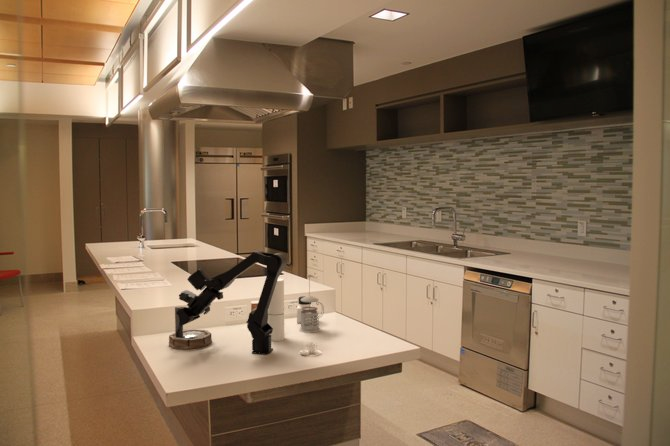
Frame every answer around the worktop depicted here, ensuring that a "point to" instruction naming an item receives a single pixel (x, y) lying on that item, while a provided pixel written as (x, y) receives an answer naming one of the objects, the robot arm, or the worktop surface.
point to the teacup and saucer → (310, 349)
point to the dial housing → (190, 341)
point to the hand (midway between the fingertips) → (180, 324)
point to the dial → (185, 335)
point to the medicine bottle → (299, 309)
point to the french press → (310, 326)
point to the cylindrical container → (277, 312)
